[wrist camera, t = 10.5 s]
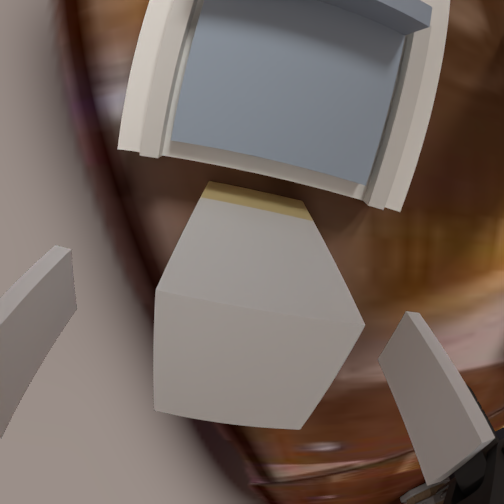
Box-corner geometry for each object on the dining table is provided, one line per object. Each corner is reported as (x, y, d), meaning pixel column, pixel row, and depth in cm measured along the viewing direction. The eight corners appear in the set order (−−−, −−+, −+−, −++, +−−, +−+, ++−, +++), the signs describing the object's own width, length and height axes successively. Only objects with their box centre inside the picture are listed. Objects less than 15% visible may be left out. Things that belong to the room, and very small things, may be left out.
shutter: (219, -33, 8) (212, -62, 6) (402, 20, 9) (432, 7, 6) (174, 138, 11) (155, 146, 9) (361, 182, 12) (385, 200, 10)
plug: (209, 180, 15) (155, 289, 6) (302, 200, 16) (365, 325, 7) (194, 264, 18) (153, 410, 9) (278, 279, 18) (300, 429, 9)
